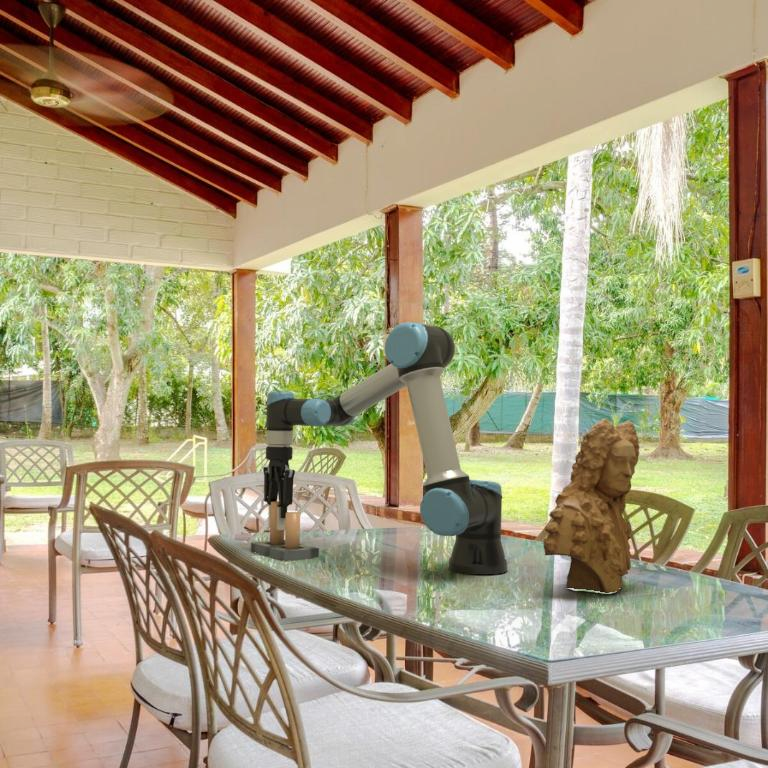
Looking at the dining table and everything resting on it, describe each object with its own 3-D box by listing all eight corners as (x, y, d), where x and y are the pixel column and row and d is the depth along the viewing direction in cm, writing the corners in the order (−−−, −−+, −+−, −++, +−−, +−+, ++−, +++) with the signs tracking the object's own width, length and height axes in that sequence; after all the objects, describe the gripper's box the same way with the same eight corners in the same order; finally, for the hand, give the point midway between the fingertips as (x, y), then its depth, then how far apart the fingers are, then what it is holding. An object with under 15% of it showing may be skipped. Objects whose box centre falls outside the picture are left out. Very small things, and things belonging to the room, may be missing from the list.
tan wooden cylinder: (302, 557, 237) (303, 513, 237) (289, 558, 235) (290, 514, 235) (294, 555, 240) (295, 511, 241) (281, 556, 238) (282, 512, 238)
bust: (610, 607, 183) (613, 418, 184) (532, 596, 192) (535, 416, 193) (652, 581, 212) (653, 418, 213) (582, 573, 221) (584, 417, 223)
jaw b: (286, 545, 243) (287, 502, 244) (274, 546, 241) (275, 503, 241) (279, 543, 247) (280, 501, 247) (267, 544, 244) (268, 501, 244)
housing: (318, 557, 237) (318, 548, 237) (284, 561, 230) (284, 551, 230) (284, 548, 251) (284, 539, 251) (250, 551, 244) (251, 542, 244)
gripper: (306, 447, 240) (304, 531, 240) (275, 444, 254) (273, 524, 253) (283, 447, 236) (281, 533, 235) (252, 444, 249) (250, 526, 248)
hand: (277, 528), depth 244 cm, fingers closed on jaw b, 4 cm apart
